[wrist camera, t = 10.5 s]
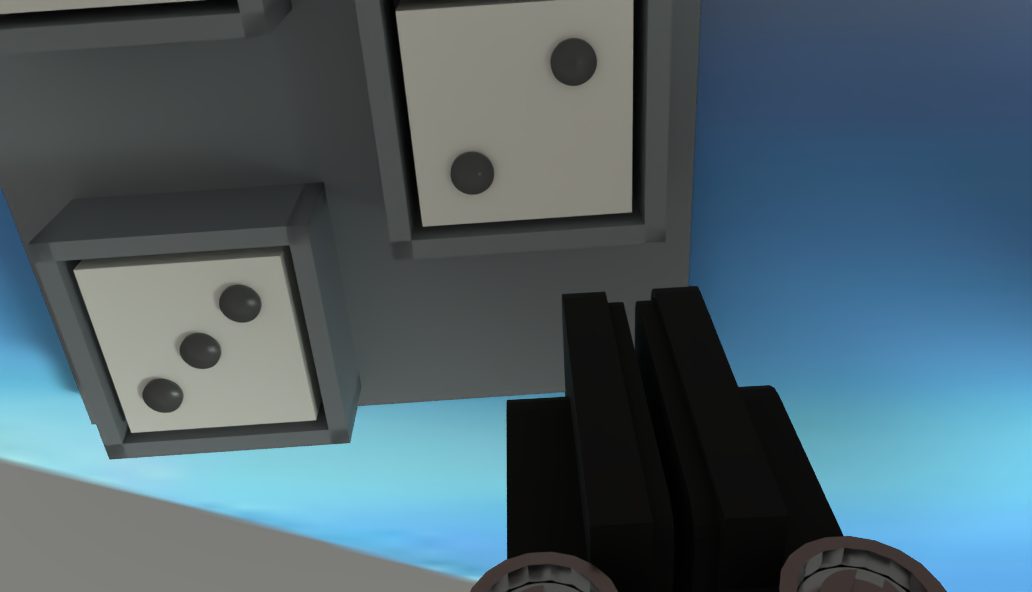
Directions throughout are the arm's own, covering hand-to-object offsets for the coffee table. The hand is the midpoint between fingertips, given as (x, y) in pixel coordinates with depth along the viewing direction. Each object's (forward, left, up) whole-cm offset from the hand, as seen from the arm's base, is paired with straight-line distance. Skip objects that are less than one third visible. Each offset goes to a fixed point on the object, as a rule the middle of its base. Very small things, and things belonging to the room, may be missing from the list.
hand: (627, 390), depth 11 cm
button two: (+1, 0, -12) cm, 12 cm away
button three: (+9, +5, -12) cm, 16 cm away
